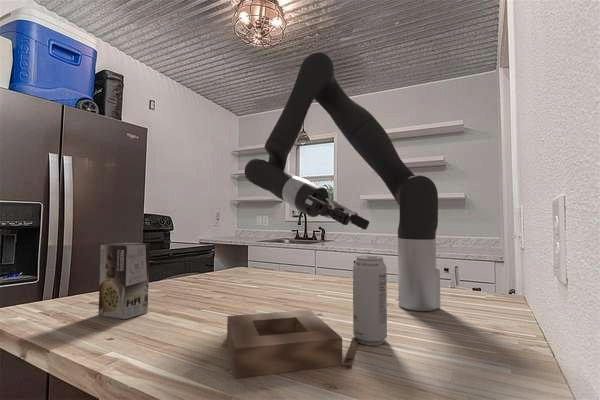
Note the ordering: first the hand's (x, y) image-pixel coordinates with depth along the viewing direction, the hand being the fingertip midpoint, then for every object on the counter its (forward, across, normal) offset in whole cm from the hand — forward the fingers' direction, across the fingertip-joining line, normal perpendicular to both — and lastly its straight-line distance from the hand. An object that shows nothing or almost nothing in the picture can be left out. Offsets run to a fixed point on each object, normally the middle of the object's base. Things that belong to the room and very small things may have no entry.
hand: (358, 223), depth 70 cm
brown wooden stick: (+14, -11, +19) cm, 26 cm away
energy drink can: (+14, -4, +18) cm, 23 cm away
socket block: (+6, -18, +23) cm, 30 cm away
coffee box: (-32, -24, +41) cm, 58 cm away
